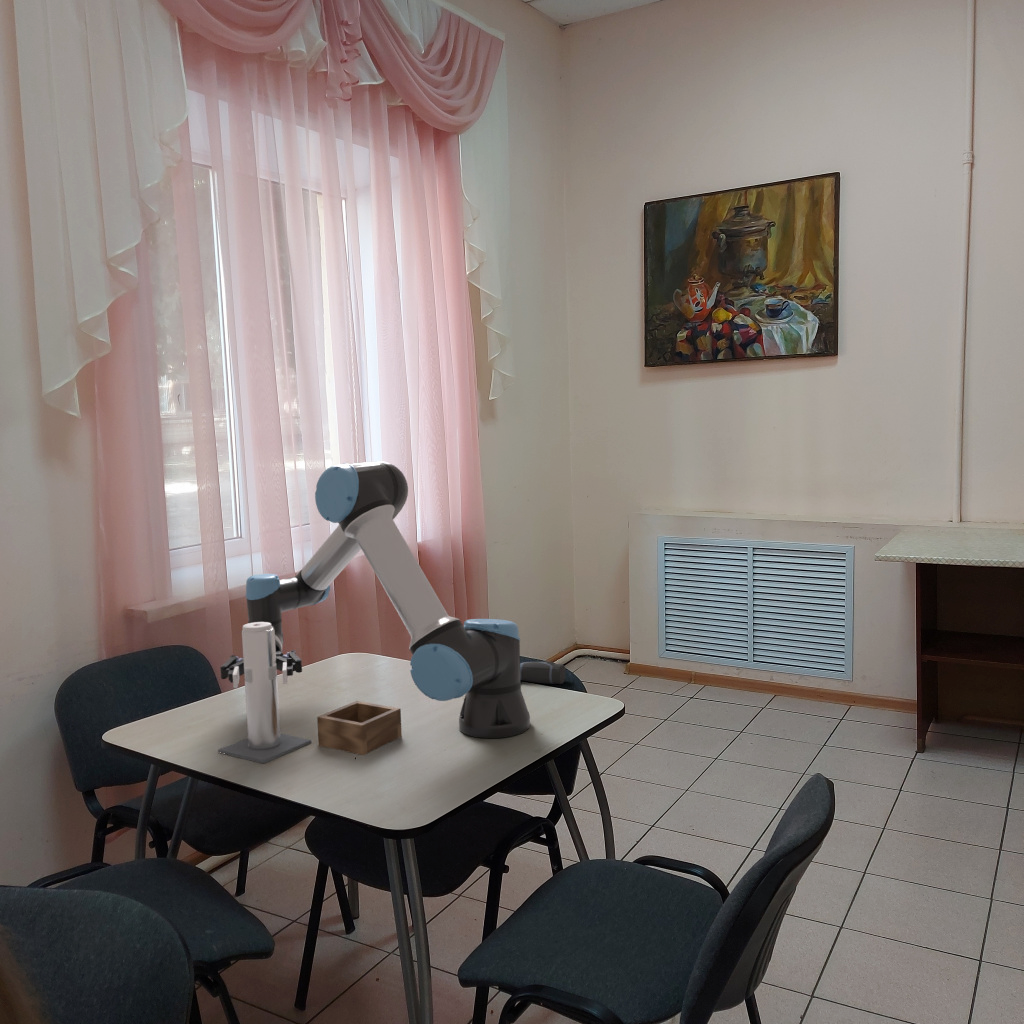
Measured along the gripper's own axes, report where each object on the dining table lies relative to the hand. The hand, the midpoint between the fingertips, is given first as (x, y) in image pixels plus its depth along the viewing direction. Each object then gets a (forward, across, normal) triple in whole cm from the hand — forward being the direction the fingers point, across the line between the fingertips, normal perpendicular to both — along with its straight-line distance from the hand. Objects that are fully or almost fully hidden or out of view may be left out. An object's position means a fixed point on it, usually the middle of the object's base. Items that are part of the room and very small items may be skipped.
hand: (260, 679), depth 181 cm
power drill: (-32, -60, -16) cm, 70 cm away
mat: (-5, 0, -16) cm, 16 cm away
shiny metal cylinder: (-5, 0, -15) cm, 16 cm away
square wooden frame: (-2, -19, -16) cm, 25 cm away
